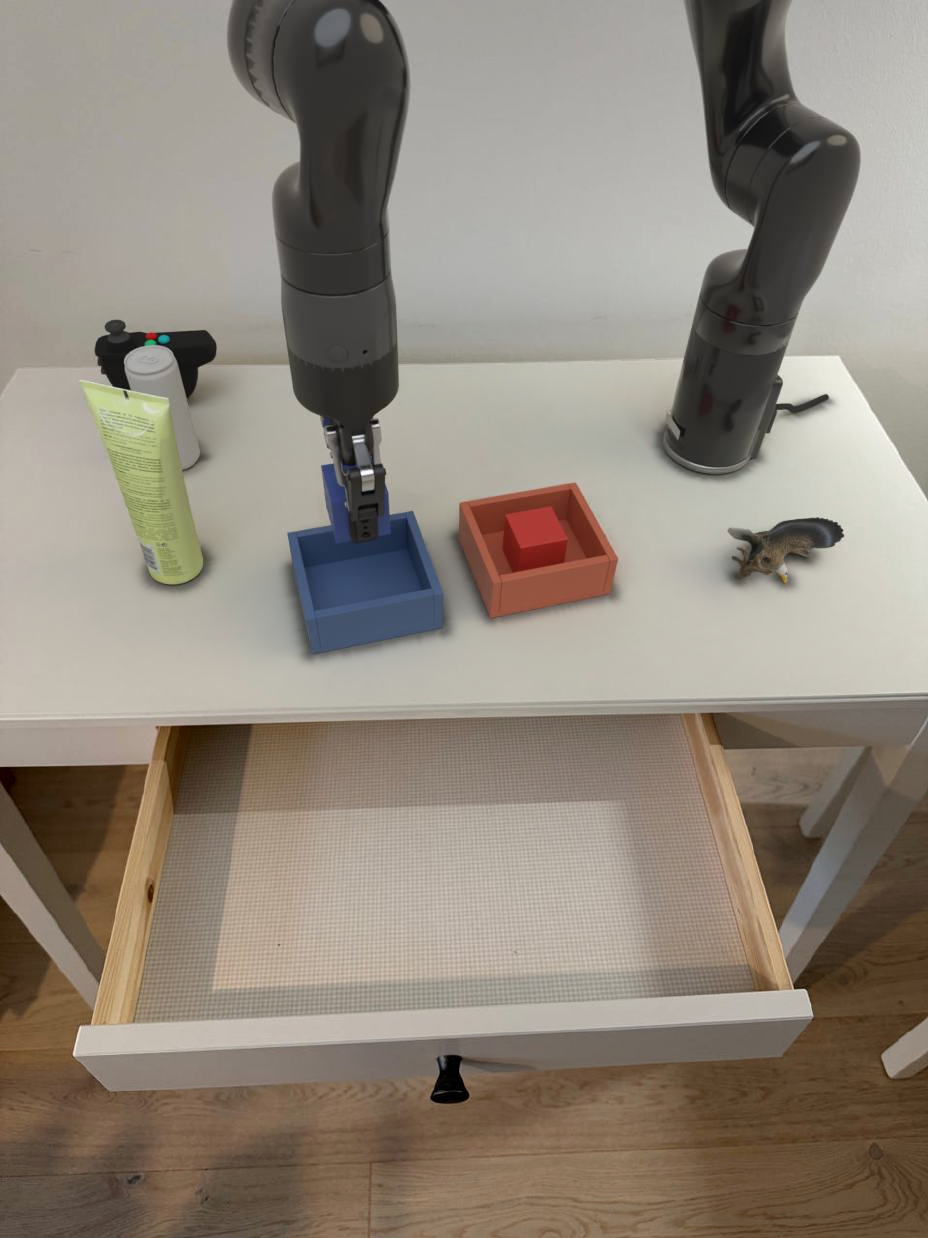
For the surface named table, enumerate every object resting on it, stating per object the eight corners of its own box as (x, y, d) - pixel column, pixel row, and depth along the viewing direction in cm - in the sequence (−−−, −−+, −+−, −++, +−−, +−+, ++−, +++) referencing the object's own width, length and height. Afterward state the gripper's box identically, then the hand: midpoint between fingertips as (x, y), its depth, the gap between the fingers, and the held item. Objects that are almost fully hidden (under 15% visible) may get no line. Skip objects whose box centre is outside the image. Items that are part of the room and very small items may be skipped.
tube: (203, 540, 84) (152, 362, 69) (217, 575, 81) (168, 397, 66) (143, 557, 82) (78, 379, 67) (156, 594, 79) (91, 415, 64)
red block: (546, 540, 84) (551, 505, 80) (562, 573, 81) (568, 538, 78) (502, 549, 83) (504, 514, 80) (516, 582, 80) (520, 547, 77)
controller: (115, 396, 98) (88, 314, 91) (227, 387, 100) (210, 306, 92) (112, 419, 95) (84, 337, 88) (227, 409, 97) (209, 328, 89)
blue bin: (414, 545, 84) (413, 510, 80) (442, 628, 77) (443, 593, 74) (293, 568, 82) (286, 532, 78) (312, 654, 75) (306, 619, 72)
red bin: (570, 517, 87) (576, 481, 84) (610, 593, 80) (618, 558, 77) (458, 537, 85) (459, 502, 81) (490, 618, 78) (492, 583, 75)
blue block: (378, 498, 74) (376, 456, 71) (390, 534, 71) (388, 492, 68) (326, 507, 73) (320, 465, 70) (336, 543, 70) (331, 501, 67)
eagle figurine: (784, 610, 78) (855, 558, 80) (761, 542, 75) (836, 490, 77) (727, 593, 85) (794, 545, 87) (704, 529, 82) (774, 482, 84)
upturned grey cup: (190, 477, 90) (162, 376, 80) (146, 470, 90) (113, 369, 81) (208, 447, 93) (183, 347, 84) (165, 441, 93) (136, 341, 84)
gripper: (421, 384, 55) (423, 570, 68) (373, 273, 64) (383, 457, 77) (303, 401, 54) (328, 588, 67) (271, 285, 63) (299, 470, 76)
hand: (358, 517), depth 72 cm, fingers closed on blue block, 4 cm apart
